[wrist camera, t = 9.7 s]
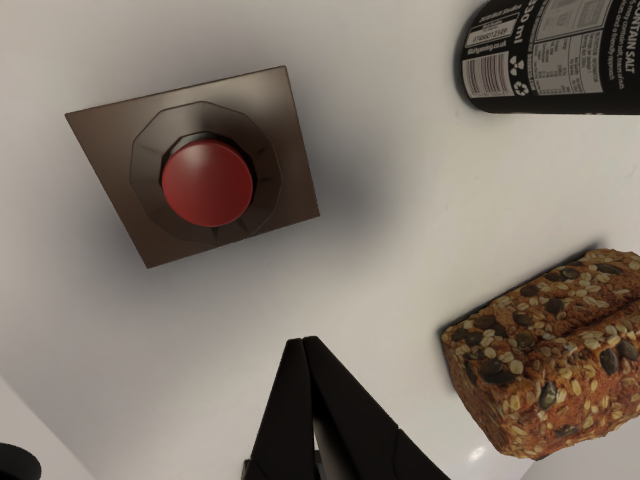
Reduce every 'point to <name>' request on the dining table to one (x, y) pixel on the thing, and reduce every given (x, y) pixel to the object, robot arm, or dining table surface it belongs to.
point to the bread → (553, 357)
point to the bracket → (320, 471)
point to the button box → (189, 125)
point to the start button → (207, 183)
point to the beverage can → (554, 57)
